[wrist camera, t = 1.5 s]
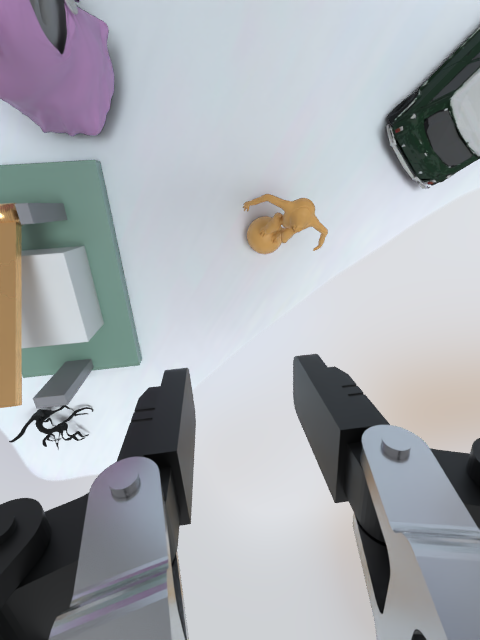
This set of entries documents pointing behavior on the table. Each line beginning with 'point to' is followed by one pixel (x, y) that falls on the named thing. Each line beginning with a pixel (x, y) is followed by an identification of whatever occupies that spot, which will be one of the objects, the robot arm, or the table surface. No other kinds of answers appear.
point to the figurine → (282, 223)
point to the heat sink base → (71, 224)
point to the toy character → (55, 65)
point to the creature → (43, 415)
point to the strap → (10, 307)
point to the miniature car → (441, 119)
